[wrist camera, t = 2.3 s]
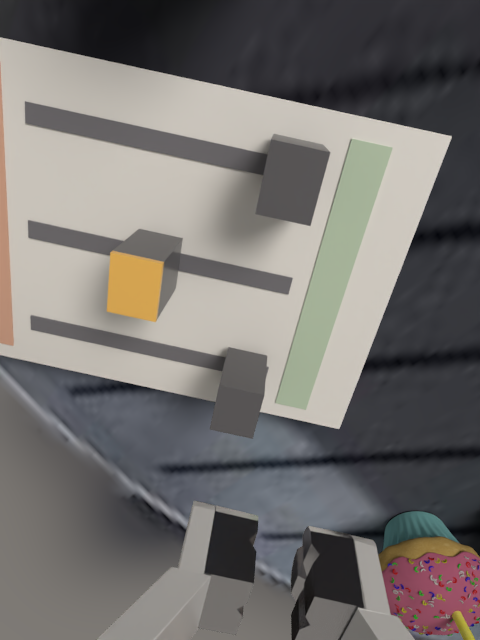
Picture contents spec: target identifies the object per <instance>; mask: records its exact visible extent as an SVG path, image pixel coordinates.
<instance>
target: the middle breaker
mask: <svg viewBox="0 0 480 640" xmlns="http://www.w3.org/2000/svg"><path fill="white" fill-rule="evenodd" d="M182 241H183V238H180V237H175V236H171V235H166V234H161V233H157V232H152V231H148V230H143V229H138V230H137V231H136V232H134V233H133V234H132V235H131V236H130V237H128V238H127V239H126V240H125V241H124V242H122V243H121V244H120V245H119V246H118V247H116V248H115V249H114V250H113V251H112V252H110V266H109V282H108V298H107V312H111V313H116V314H120V315H125V316H129V317H134V318H138V319H143V320H148V321H152V322H156V321H157V319H158V317H159V316H160V314H161V312H162V311H163V309H164V307H165V306H166V304H167V302H168V301H169V299H170V298H171V296H172V294H173V293H174V291H175V289H176V284H177V277H178V269H179V262H180V255H181V248H182Z"/></svg>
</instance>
